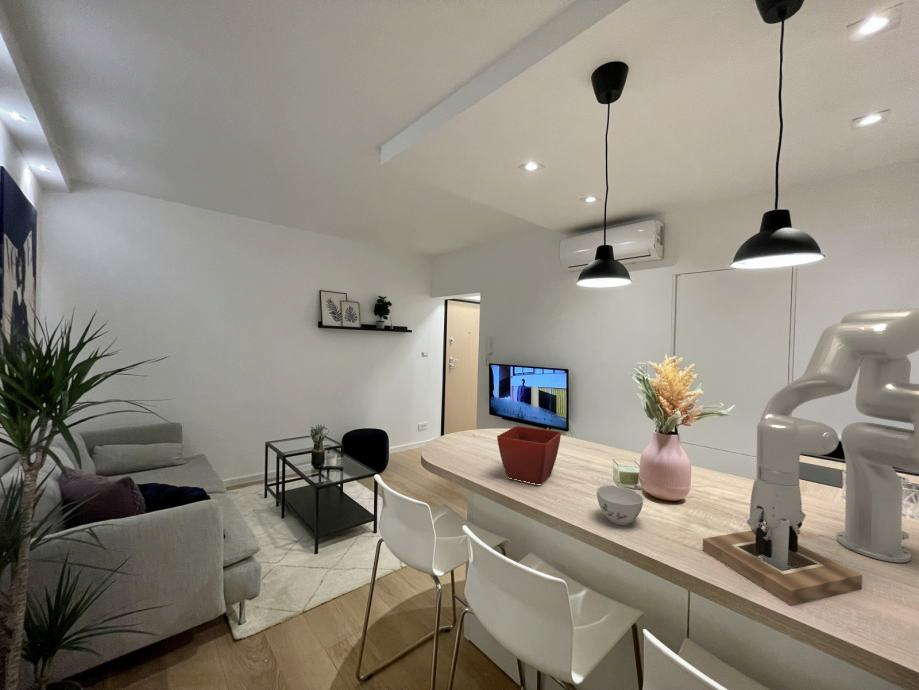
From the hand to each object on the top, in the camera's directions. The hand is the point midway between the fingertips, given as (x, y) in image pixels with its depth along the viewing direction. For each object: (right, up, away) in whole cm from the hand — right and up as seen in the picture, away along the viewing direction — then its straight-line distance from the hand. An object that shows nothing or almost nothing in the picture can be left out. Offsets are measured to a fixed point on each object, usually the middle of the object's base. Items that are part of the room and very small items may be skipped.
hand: (776, 551), depth 86 cm
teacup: (-26, -4, +23) cm, 35 cm away
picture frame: (0, -4, 0) cm, 4 cm away
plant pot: (-47, -3, +56) cm, 73 cm away
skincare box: (0, -4, 0) cm, 4 cm away
